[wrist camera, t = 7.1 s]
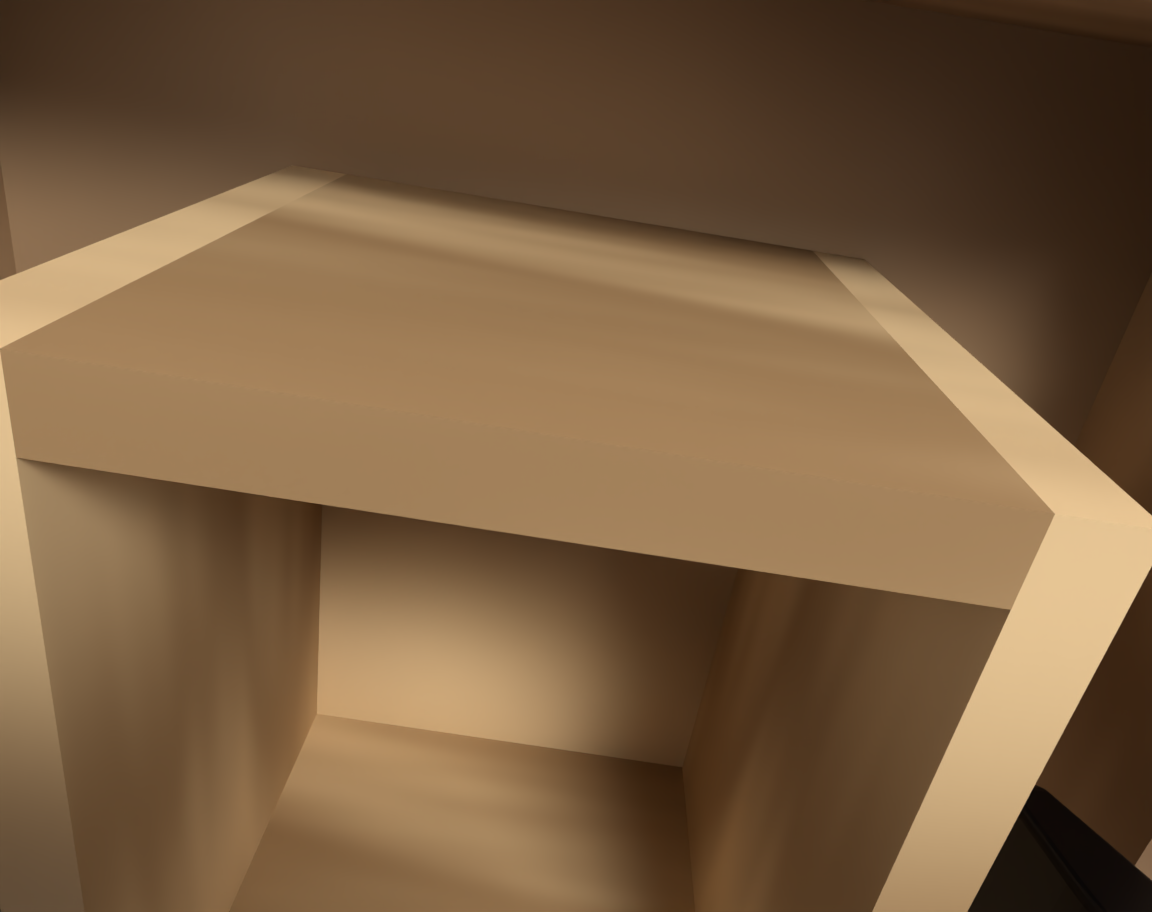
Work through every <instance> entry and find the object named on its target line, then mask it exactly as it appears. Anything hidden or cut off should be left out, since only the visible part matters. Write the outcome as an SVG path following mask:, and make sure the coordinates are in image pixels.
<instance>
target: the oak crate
mask: <svg viewBox="0 0 1152 912" xmlns="http://www.w3.org/2000/svg"><path fill="white" fill-rule="evenodd" d="M1151 567H1152V515H1151V514H1149V513H1148V512H1147V511H1146V510H1145V509H1144V508H1143V507H1142V506H1140V505H1139V504H1138V503H1137V502H1136V501H1135V500H1134V499H1133V498H1131V497H1130V496H1129V495H1128V494H1127V493H1126V492H1125V491H1124V490H1123V489H1121V488H1120V487H1119V486H1118V485H1117V484H1116V483H1115V482H1114V481H1112V480H1111V479H1110V478H1109V477H1108V476H1107V475H1106V474H1105V473H1103V472H1102V471H1101V470H1100V469H1099V468H1098V467H1097V466H1096V465H1094V464H1093V463H1092V462H1091V461H1090V460H1089V459H1088V458H1087V457H1086V456H1084V455H1083V454H1082V453H1081V452H1080V451H1079V450H1078V449H1077V448H1075V447H1074V446H1073V445H1072V444H1071V443H1070V442H1069V441H1068V440H1066V439H1065V438H1064V437H1063V436H1062V435H1061V434H1060V433H1059V432H1057V431H1056V430H1055V429H1054V428H1053V427H1052V426H1051V425H1050V424H1049V423H1047V422H1046V421H1045V420H1044V419H1043V418H1042V417H1041V416H1040V415H1038V414H1037V413H1036V412H1035V411H1034V410H1033V409H1032V408H1031V407H1029V406H1028V405H1027V404H1026V403H1025V402H1024V401H1023V400H1022V399H1020V398H1019V397H1018V396H1017V395H1016V394H1015V393H1014V392H1013V391H1012V390H1010V389H1009V388H1008V387H1007V386H1006V385H1005V384H1004V383H1003V382H1001V381H1000V380H999V379H998V378H997V377H996V376H995V375H994V374H992V373H991V372H990V371H989V370H988V369H987V368H986V367H985V366H983V365H982V364H981V363H980V362H979V361H978V360H977V359H976V358H975V357H973V356H972V355H971V354H970V353H969V352H968V351H967V350H966V349H964V348H963V347H962V346H961V345H960V344H959V343H958V342H957V341H955V340H954V339H953V338H952V337H951V336H950V335H949V334H948V333H947V332H945V331H944V330H943V329H942V328H941V327H940V326H939V325H938V324H936V323H935V322H934V321H933V320H932V319H931V318H930V317H929V316H927V315H926V314H925V313H924V312H923V311H922V310H921V309H920V308H918V307H917V306H916V305H915V304H914V303H913V302H912V301H911V300H910V299H908V298H907V297H906V296H905V295H904V294H903V293H902V292H901V291H899V290H898V289H897V288H896V287H895V286H894V285H893V284H892V283H890V282H889V281H888V280H887V279H886V278H885V277H884V276H883V275H881V274H880V273H879V272H878V271H877V270H876V269H875V268H874V267H873V266H871V265H870V264H869V263H868V262H867V261H866V260H865V259H860V258H854V257H848V256H842V255H836V254H830V253H824V252H818V251H812V250H806V249H800V248H793V247H787V246H781V245H775V244H769V243H763V242H757V241H751V240H745V239H739V238H732V237H726V236H720V235H714V234H708V233H702V232H696V231H690V230H684V229H678V228H671V227H665V226H659V225H653V224H647V223H641V222H635V221H629V220H623V219H617V218H611V217H604V216H598V215H592V214H586V213H580V212H574V211H568V210H562V209H556V208H550V207H543V206H537V205H531V204H525V203H519V202H513V201H507V200H501V199H495V198H489V197H482V196H476V195H470V194H464V193H458V192H452V191H446V190H440V189H434V188H428V187H421V186H415V185H409V184H403V183H397V182H391V181H385V180H379V179H373V178H367V177H361V176H354V175H348V174H342V173H336V172H330V171H324V170H318V169H312V168H306V167H300V166H293V165H292V166H290V167H287V168H285V169H282V170H280V171H277V172H275V173H272V174H269V175H267V176H264V177H262V178H259V179H257V180H254V181H252V182H249V183H247V184H244V185H241V186H239V187H236V188H234V189H231V190H229V191H226V192H224V193H221V194H219V195H216V196H213V197H211V198H208V199H206V200H203V201H201V202H198V203H196V204H193V205H191V206H188V207H185V208H183V209H180V210H178V211H175V212H173V213H170V214H168V215H165V216H163V217H160V218H157V219H155V220H152V221H150V222H147V223H145V224H142V225H140V226H137V227H135V228H132V229H129V230H127V231H124V232H122V233H119V234H117V235H114V236H112V237H109V238H107V239H104V240H101V241H99V242H96V243H94V244H91V245H89V246H86V247H84V248H81V249H79V250H76V251H73V252H71V253H68V254H66V255H63V256H61V257H58V258H56V259H53V260H51V261H48V262H45V263H43V264H40V265H38V266H35V267H33V268H30V269H28V270H25V271H23V272H20V273H17V274H15V275H12V276H10V277H7V278H5V279H2V280H0V909H1V912H967V911H968V910H969V908H970V906H971V904H972V902H973V900H974V898H975V896H976V895H977V893H978V891H979V889H980V887H981V885H982V883H983V881H984V880H985V878H986V876H987V874H988V872H989V870H990V868H991V866H992V865H993V863H994V861H995V859H996V857H997V855H998V853H999V851H1000V850H1001V848H1002V846H1003V844H1004V842H1005V840H1006V838H1007V836H1008V835H1009V833H1010V831H1011V829H1012V827H1013V825H1014V823H1015V821H1016V820H1017V818H1018V816H1019V814H1020V812H1021V810H1022V808H1023V806H1024V805H1025V803H1026V801H1027V799H1028V797H1029V795H1030V793H1031V791H1032V790H1033V788H1034V786H1035V784H1036V782H1037V780H1038V778H1039V776H1040V775H1041V773H1042V771H1043V769H1044V767H1045V765H1046V763H1047V761H1048V760H1049V758H1050V756H1051V754H1052V752H1053V750H1054V748H1055V746H1056V745H1057V743H1058V741H1059V739H1060V737H1061V735H1062V733H1063V731H1064V730H1065V728H1066V726H1067V724H1068V722H1069V720H1070V718H1071V716H1072V715H1073V713H1074V711H1075V709H1076V707H1077V705H1078V703H1079V701H1080V700H1081V698H1082V696H1083V694H1084V692H1085V690H1086V688H1087V686H1088V685H1089V683H1090V681H1091V679H1092V677H1093V675H1094V673H1095V672H1096V670H1097V668H1098V666H1099V664H1100V662H1101V660H1102V658H1103V657H1104V655H1105V653H1106V651H1107V649H1108V647H1109V645H1110V643H1111V642H1112V640H1113V638H1114V636H1115V634H1116V632H1117V630H1118V628H1119V627H1120V625H1121V623H1122V621H1123V619H1124V617H1125V615H1126V613H1127V612H1128V610H1129V608H1130V606H1131V604H1132V602H1133V600H1134V598H1135V597H1136V595H1137V593H1138V591H1139V589H1140V587H1141V585H1142V583H1143V582H1144V580H1145V578H1146V576H1147V574H1148V572H1149V570H1150V568H1151Z"/></svg>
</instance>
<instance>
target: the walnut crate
mask: <svg viewBox="0 0 1152 912" xmlns="http://www.w3.org/2000/svg"><path fill="white" fill-rule="evenodd" d="M292 165H293V166H300V167H306V168H312V169H318V170H324V171H330V172H336V173H342V174H348V175H354V176H361V177H367V178H373V179H379V180H385V181H391V182H397V183H403V184H409V185H415V186H421V187H428V188H434V189H440V190H446V191H452V192H458V193H464V194H470V195H476V196H482V197H489V198H495V199H501V200H507V201H513V202H519V203H525V204H531V205H537V206H543V207H550V208H556V209H562V210H568V211H574V212H580V213H586V214H592V215H598V216H604V217H611V218H617V219H623V220H629V221H635V222H641V223H647V224H653V225H659V226H665V227H671V228H678V229H684V230H690V231H696V232H702V233H708V234H714V235H720V236H726V237H732V238H739V239H745V240H751V241H757V242H763V243H769V244H775V245H781V246H787V247H793V248H800V249H806V250H812V251H818V252H824V253H830V254H836V255H842V256H848V257H854V258H860V259H865V260H866V261H867V262H868V263H869V264H870V265H871V266H873V267H874V268H875V269H876V270H877V271H878V272H879V273H880V274H881V275H883V276H884V277H885V278H886V279H887V280H888V281H889V282H890V283H892V284H893V285H894V286H895V287H896V288H897V289H898V290H899V291H901V292H902V293H903V294H904V295H905V296H906V297H907V298H908V299H910V300H911V301H912V302H913V303H914V304H915V305H916V306H917V307H918V308H920V309H921V310H922V311H923V312H924V313H925V314H926V315H927V316H929V317H930V318H931V319H932V320H933V321H934V322H935V323H936V324H938V325H939V326H940V327H941V328H942V329H943V330H944V331H945V332H947V333H948V334H949V335H950V336H951V337H952V338H953V339H954V340H955V341H957V342H958V343H959V344H960V345H961V346H962V347H963V348H964V349H966V350H967V351H968V352H969V353H970V354H971V355H972V356H973V357H975V358H976V359H977V360H978V361H979V362H980V363H981V364H982V365H983V366H985V367H986V368H987V369H988V370H989V371H990V372H991V373H992V374H994V375H995V376H996V377H997V378H998V379H999V380H1000V381H1001V382H1003V383H1004V384H1005V385H1006V386H1007V387H1008V388H1009V389H1010V390H1012V391H1013V392H1014V393H1015V394H1016V395H1017V396H1018V397H1019V398H1020V399H1022V400H1023V401H1024V402H1025V403H1026V404H1027V405H1028V406H1029V407H1031V408H1032V409H1033V410H1034V411H1035V412H1036V413H1037V414H1038V415H1040V416H1041V417H1042V418H1043V419H1044V420H1045V421H1046V422H1047V423H1049V424H1050V425H1051V426H1052V427H1053V428H1054V429H1055V430H1056V431H1057V432H1059V433H1060V434H1061V435H1062V436H1063V437H1064V438H1065V439H1066V440H1068V441H1069V442H1070V443H1071V444H1072V445H1073V446H1074V447H1075V448H1077V449H1078V450H1079V451H1080V452H1081V453H1082V454H1083V455H1084V456H1086V457H1087V458H1088V459H1089V460H1090V461H1091V462H1092V463H1093V464H1094V465H1096V466H1097V467H1098V468H1099V469H1100V470H1101V471H1102V472H1103V473H1105V474H1106V475H1107V476H1108V477H1109V478H1110V479H1111V480H1112V481H1114V482H1115V483H1116V484H1117V485H1118V486H1119V487H1120V488H1121V489H1123V490H1124V491H1125V492H1126V493H1127V494H1128V495H1129V496H1130V497H1131V498H1133V499H1134V500H1135V501H1136V502H1137V503H1138V504H1139V505H1140V506H1142V507H1143V508H1144V509H1145V510H1146V511H1147V512H1148V513H1149V514H1151V515H1152V0H0V280H2V279H5V278H7V277H10V276H12V275H15V274H17V273H20V272H23V271H25V270H28V269H30V268H33V267H35V266H38V265H40V264H43V263H45V262H48V261H51V260H53V259H56V258H58V257H61V256H63V255H66V254H68V253H71V252H73V251H76V250H79V249H81V248H84V247H86V246H89V245H91V244H94V243H96V242H99V241H101V240H104V239H107V238H109V237H112V236H114V235H117V234H119V233H122V232H124V231H127V230H129V229H132V228H135V227H137V226H140V225H142V224H145V223H147V222H150V221H152V220H155V219H157V218H160V217H163V216H165V215H168V214H170V213H173V212H175V211H178V210H180V209H183V208H185V207H188V206H191V205H193V204H196V203H198V202H201V201H203V200H206V199H208V198H211V197H213V196H216V195H219V194H221V193H224V192H226V191H229V190H231V189H234V188H236V187H239V186H241V185H244V184H247V183H249V182H252V181H254V180H257V179H259V178H262V177H264V176H267V175H269V174H272V173H275V172H277V171H280V170H282V169H285V168H287V167H290V166H292ZM1035 785H1037V786H1040V787H1042V788H1044V789H1045V790H1047V791H1048V792H1049V793H1050V794H1052V795H1053V796H1054V797H1055V798H1056V799H1057V800H1059V801H1060V802H1061V803H1062V804H1063V805H1064V806H1066V807H1067V808H1068V809H1069V810H1070V811H1071V812H1073V813H1074V814H1075V815H1076V816H1077V817H1078V818H1080V819H1081V820H1082V821H1083V822H1084V823H1086V824H1087V825H1088V826H1089V827H1090V828H1091V829H1093V830H1094V831H1095V832H1096V833H1097V834H1098V835H1100V836H1101V837H1102V838H1103V839H1104V840H1105V841H1107V842H1108V843H1109V844H1110V845H1111V846H1112V847H1114V848H1115V849H1116V850H1117V851H1118V852H1119V853H1121V854H1122V855H1123V856H1124V857H1125V858H1126V859H1128V860H1129V861H1130V862H1131V863H1132V864H1133V865H1135V866H1136V867H1137V868H1138V869H1139V870H1140V871H1142V872H1143V873H1144V874H1145V875H1146V876H1147V877H1149V878H1150V879H1151V880H1152V567H1151V568H1150V570H1149V572H1148V574H1147V576H1146V578H1145V580H1144V582H1143V583H1142V585H1141V587H1140V589H1139V591H1138V593H1137V595H1136V597H1135V598H1134V600H1133V602H1132V604H1131V606H1130V608H1129V610H1128V612H1127V613H1126V615H1125V617H1124V619H1123V621H1122V623H1121V625H1120V627H1119V628H1118V630H1117V632H1116V634H1115V636H1114V638H1113V640H1112V642H1111V643H1110V645H1109V647H1108V649H1107V651H1106V653H1105V655H1104V657H1103V658H1102V660H1101V662H1100V664H1099V666H1098V668H1097V670H1096V672H1095V673H1094V675H1093V677H1092V679H1091V681H1090V683H1089V685H1088V686H1087V688H1086V690H1085V692H1084V694H1083V696H1082V698H1081V700H1080V701H1079V703H1078V705H1077V707H1076V709H1075V711H1074V713H1073V715H1072V716H1071V718H1070V720H1069V722H1068V724H1067V726H1066V728H1065V730H1064V731H1063V733H1062V735H1061V737H1060V739H1059V741H1058V743H1057V745H1056V746H1055V748H1054V750H1053V752H1052V754H1051V756H1050V758H1049V760H1048V761H1047V763H1046V765H1045V767H1044V769H1043V771H1042V773H1041V775H1040V776H1039V778H1038V780H1037V782H1036V784H1035ZM0 912H1V909H0ZM967 912H968V911H967Z"/></svg>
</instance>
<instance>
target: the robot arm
mask: <svg viewBox="0 0 1152 912" xmlns="http://www.w3.org/2000/svg"><path fill="white" fill-rule="evenodd" d="M968 912H1152V880H1151V879H1150V878H1149V877H1147V876H1146V875H1145V874H1144V873H1143V872H1142V871H1140V870H1139V869H1138V868H1137V867H1136V866H1135V865H1133V864H1132V863H1131V862H1130V861H1129V860H1128V859H1126V858H1125V857H1124V856H1123V855H1122V854H1121V853H1119V852H1118V851H1117V850H1116V849H1115V848H1114V847H1112V846H1111V845H1110V844H1109V843H1108V842H1107V841H1105V840H1104V839H1103V838H1102V837H1101V836H1100V835H1098V834H1097V833H1096V832H1095V831H1094V830H1093V829H1091V828H1090V827H1089V826H1088V825H1087V824H1086V823H1084V822H1083V821H1082V820H1081V819H1080V818H1078V817H1077V816H1076V815H1075V814H1074V813H1073V812H1071V811H1070V810H1069V809H1068V808H1067V807H1066V806H1064V805H1063V804H1062V803H1061V802H1060V801H1059V800H1057V799H1056V798H1055V797H1054V796H1053V795H1052V794H1050V793H1049V792H1048V791H1047V790H1045V789H1044V788H1042V787H1040V786H1037V785H1035V786H1034V788H1033V790H1032V791H1031V793H1030V795H1029V797H1028V799H1027V801H1026V803H1025V805H1024V806H1023V808H1022V810H1021V812H1020V814H1019V816H1018V818H1017V820H1016V821H1015V823H1014V825H1013V827H1012V829H1011V831H1010V833H1009V835H1008V836H1007V838H1006V840H1005V842H1004V844H1003V846H1002V848H1001V850H1000V851H999V853H998V855H997V857H996V859H995V861H994V863H993V865H992V866H991V868H990V870H989V872H988V874H987V876H986V878H985V880H984V881H983V883H982V885H981V887H980V889H979V891H978V893H977V895H976V896H975V898H974V900H973V902H972V904H971V906H970V908H969V910H968Z"/></svg>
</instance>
